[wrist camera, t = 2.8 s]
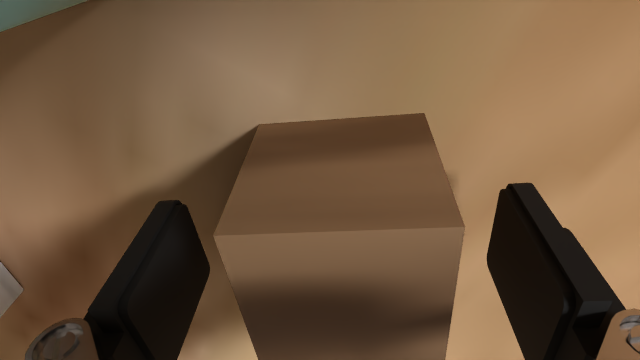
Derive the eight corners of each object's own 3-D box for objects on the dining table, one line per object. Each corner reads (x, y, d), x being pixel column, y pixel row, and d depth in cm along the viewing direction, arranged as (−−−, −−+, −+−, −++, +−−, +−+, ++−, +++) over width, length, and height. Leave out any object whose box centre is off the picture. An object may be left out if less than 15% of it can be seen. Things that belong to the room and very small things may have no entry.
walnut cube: (259, 123, 12) (212, 235, 8) (423, 111, 11) (465, 227, 7) (285, 239, 15) (260, 365, 11) (417, 234, 14) (444, 366, 10)
